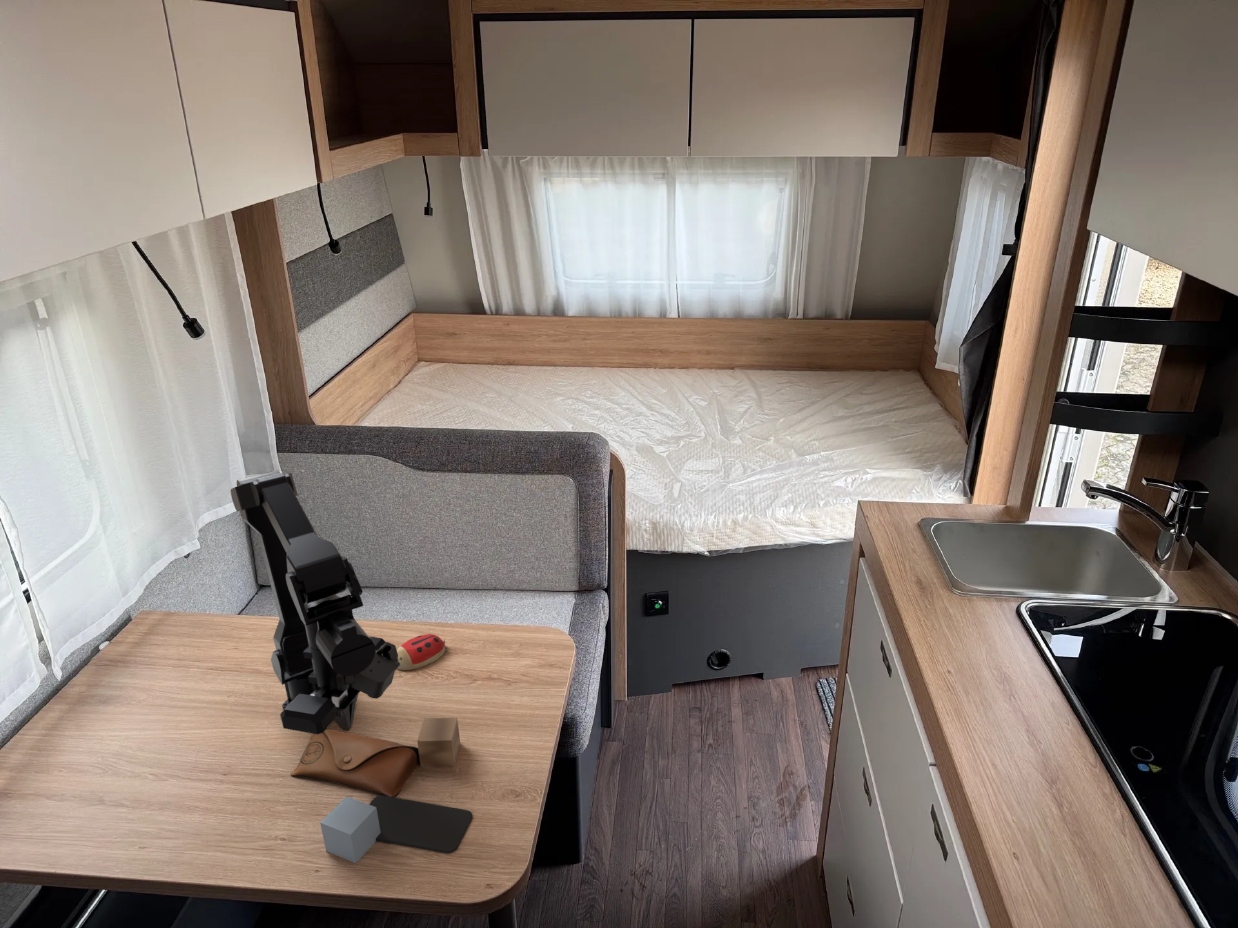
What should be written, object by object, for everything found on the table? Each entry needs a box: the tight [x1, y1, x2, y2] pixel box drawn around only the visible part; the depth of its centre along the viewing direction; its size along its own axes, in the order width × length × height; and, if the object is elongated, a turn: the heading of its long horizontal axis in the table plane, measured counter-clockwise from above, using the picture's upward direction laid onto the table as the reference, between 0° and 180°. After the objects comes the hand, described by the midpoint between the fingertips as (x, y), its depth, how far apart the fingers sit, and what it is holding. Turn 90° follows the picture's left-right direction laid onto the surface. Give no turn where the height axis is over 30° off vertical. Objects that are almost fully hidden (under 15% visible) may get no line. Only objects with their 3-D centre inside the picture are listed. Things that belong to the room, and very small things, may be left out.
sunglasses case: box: [290, 728, 421, 797], centre depth 126 cm, size 18×7×7 cm
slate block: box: [319, 795, 381, 864], centre depth 112 cm, size 5×5×5 cm
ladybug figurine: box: [396, 633, 446, 671], centre depth 150 cm, size 7×10×4 cm
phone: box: [369, 795, 473, 854], centre depth 116 cm, size 7×1×15 cm
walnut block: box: [416, 717, 461, 768], centre depth 127 cm, size 5×5×5 cm
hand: (346, 729), depth 122 cm, fingers closed
